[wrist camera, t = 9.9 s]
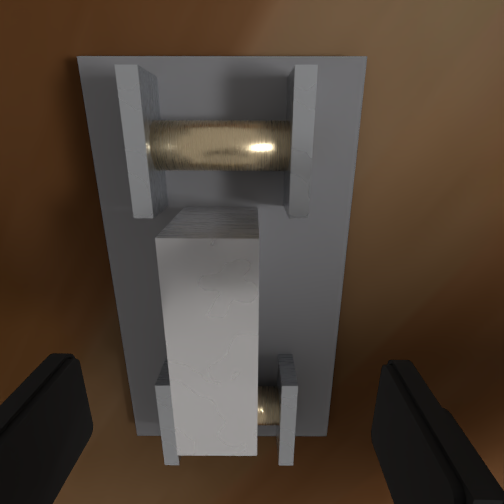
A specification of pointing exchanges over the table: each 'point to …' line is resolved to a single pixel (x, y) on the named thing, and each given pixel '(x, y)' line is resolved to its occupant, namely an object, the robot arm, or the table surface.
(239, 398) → the tall grey pillar block
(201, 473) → the table surface
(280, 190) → the grey flat plate
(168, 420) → the twin roller tray
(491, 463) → the table surface
